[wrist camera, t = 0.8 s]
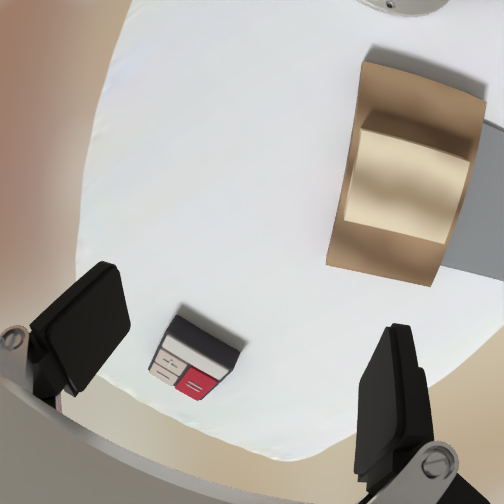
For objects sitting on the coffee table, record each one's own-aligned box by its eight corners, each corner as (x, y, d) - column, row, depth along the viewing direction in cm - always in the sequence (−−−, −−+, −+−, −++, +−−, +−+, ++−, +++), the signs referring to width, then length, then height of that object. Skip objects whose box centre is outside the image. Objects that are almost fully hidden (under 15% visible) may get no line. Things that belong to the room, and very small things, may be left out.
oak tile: (360, 127, 23) (362, 130, 22) (461, 157, 21) (470, 162, 20) (343, 211, 27) (344, 220, 26) (438, 234, 26) (444, 244, 24)
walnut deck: (361, 63, 22) (363, 60, 20) (477, 100, 20) (486, 101, 18) (326, 255, 32) (325, 264, 31) (426, 276, 30) (430, 287, 28)
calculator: (145, 373, 48) (163, 333, 40) (156, 356, 52) (177, 313, 43) (199, 404, 49) (232, 373, 40) (207, 386, 52) (241, 351, 44)
